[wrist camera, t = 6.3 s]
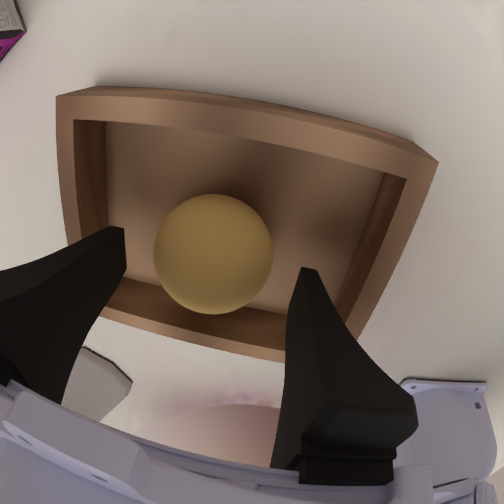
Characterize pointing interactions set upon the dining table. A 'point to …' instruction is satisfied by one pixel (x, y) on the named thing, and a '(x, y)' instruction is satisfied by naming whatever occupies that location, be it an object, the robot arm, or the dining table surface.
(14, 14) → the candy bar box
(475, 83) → the dining table surface
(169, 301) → the tray
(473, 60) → the dining table surface
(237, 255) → the ball
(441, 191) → the dining table surface
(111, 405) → the flask
